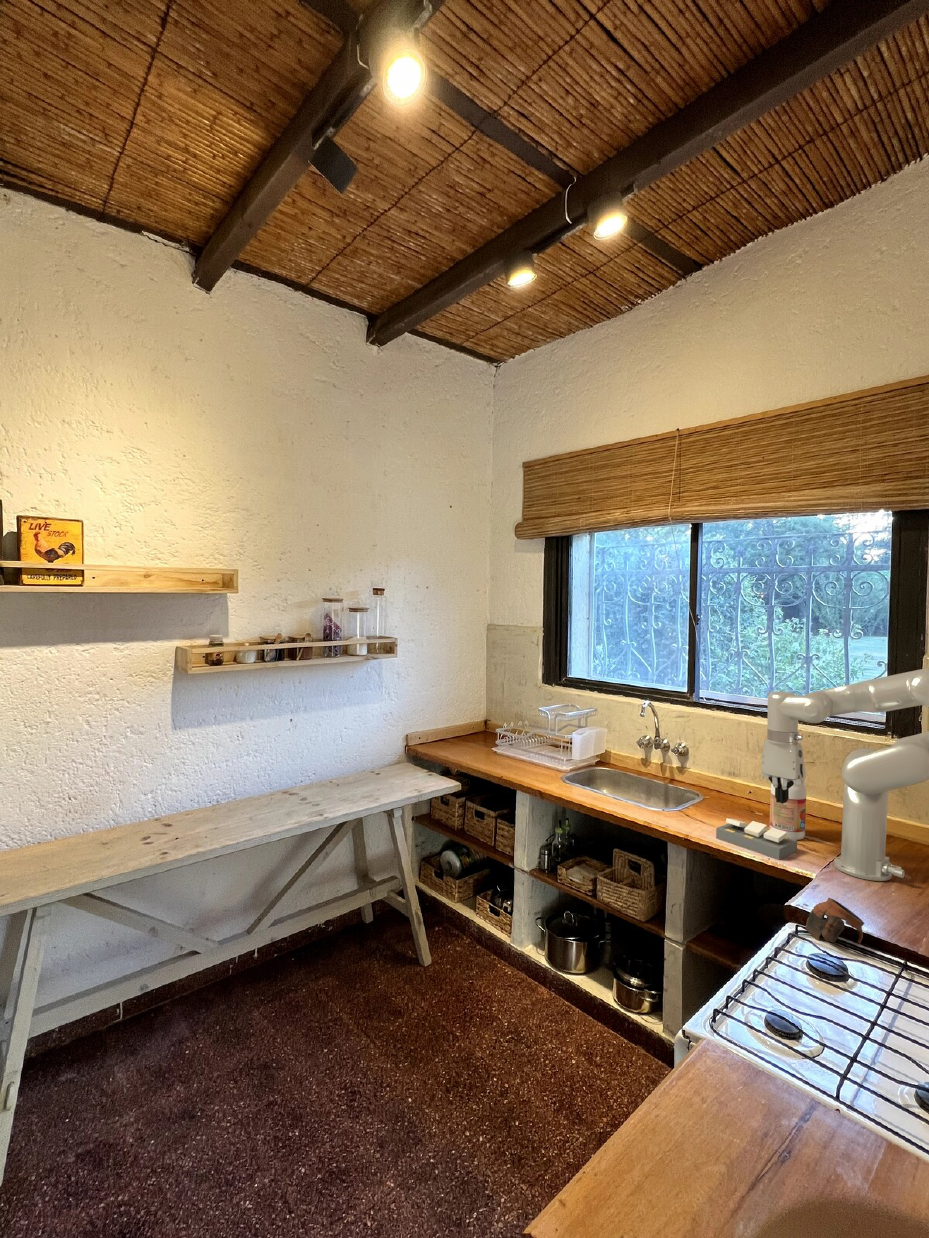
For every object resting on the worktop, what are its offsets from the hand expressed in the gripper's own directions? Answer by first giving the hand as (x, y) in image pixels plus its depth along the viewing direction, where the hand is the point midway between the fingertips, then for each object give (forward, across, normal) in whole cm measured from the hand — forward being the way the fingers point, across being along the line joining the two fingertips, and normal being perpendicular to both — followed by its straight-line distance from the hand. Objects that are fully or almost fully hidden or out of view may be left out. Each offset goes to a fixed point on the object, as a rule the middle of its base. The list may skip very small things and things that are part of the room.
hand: (781, 802), depth 166 cm
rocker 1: (+9, +12, +2) cm, 15 cm away
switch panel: (+13, +6, +2) cm, 15 cm away
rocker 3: (+9, +1, +2) cm, 9 cm away
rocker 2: (+9, +6, +2) cm, 11 cm away
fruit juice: (+14, +5, -14) cm, 20 cm away
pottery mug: (+14, -28, +37) cm, 48 cm away
